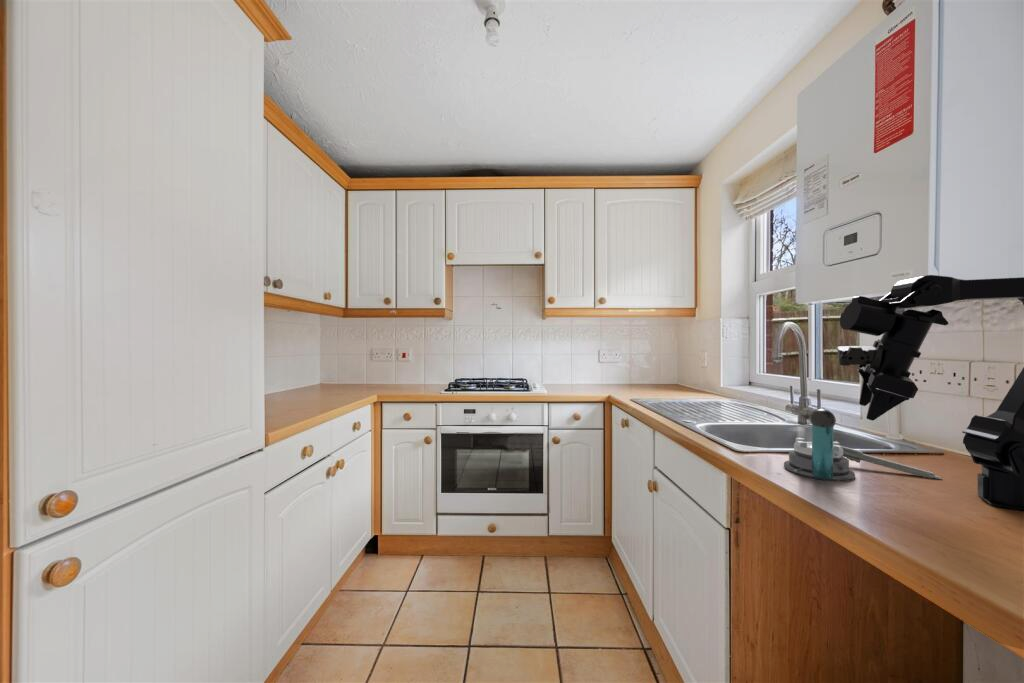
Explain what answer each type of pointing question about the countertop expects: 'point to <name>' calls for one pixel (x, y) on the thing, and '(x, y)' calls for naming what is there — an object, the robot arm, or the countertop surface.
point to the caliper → (885, 463)
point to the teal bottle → (821, 444)
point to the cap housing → (804, 468)
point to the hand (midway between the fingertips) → (865, 412)
